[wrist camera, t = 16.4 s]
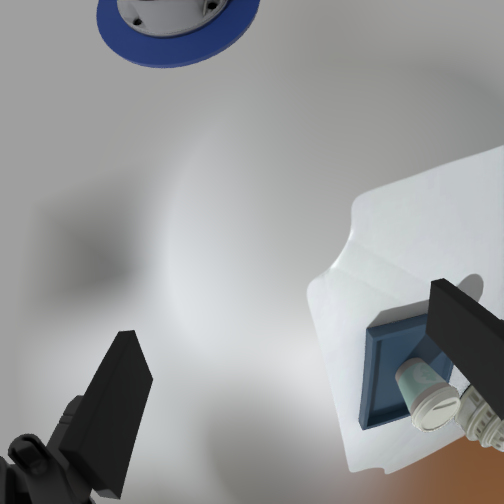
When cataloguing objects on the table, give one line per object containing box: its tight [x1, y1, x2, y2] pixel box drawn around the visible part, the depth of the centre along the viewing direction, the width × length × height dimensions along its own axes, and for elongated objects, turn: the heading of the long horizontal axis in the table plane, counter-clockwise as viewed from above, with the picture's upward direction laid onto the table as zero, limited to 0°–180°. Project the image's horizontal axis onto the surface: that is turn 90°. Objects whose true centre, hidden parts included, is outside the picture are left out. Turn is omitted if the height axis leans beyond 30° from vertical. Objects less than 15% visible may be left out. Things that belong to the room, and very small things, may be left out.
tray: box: [359, 313, 454, 430], centre depth 46 cm, size 22×18×3 cm
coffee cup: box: [395, 358, 461, 432], centre depth 41 cm, size 8×8×12 cm
